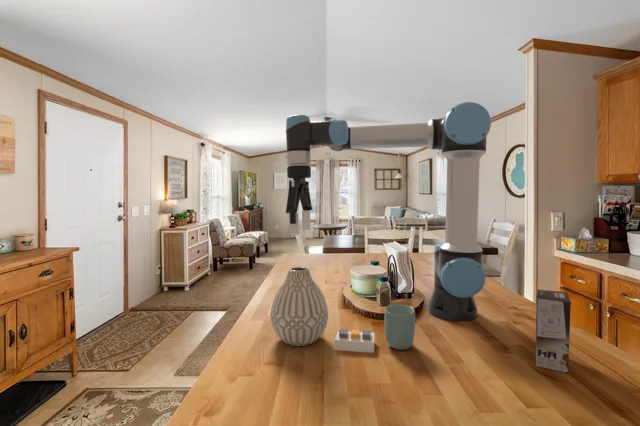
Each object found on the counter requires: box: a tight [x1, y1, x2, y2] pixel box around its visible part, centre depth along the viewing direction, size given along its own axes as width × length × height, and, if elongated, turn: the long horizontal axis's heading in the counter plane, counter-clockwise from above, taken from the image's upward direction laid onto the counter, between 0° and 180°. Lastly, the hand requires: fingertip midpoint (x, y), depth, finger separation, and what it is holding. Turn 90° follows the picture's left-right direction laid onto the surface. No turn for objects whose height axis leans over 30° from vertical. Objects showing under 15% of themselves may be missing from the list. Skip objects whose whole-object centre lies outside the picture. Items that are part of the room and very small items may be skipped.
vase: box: [269, 266, 329, 347], centre depth 96 cm, size 16×16×20 cm
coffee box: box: [535, 289, 572, 373], centre depth 82 cm, size 9×6×16 cm
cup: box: [384, 304, 416, 351], centre depth 91 cm, size 8×8×10 cm
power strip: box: [334, 328, 376, 354], centre depth 92 cm, size 10×6×4 cm, turn 79°
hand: (300, 232), depth 112 cm, fingers open, 13 cm apart
